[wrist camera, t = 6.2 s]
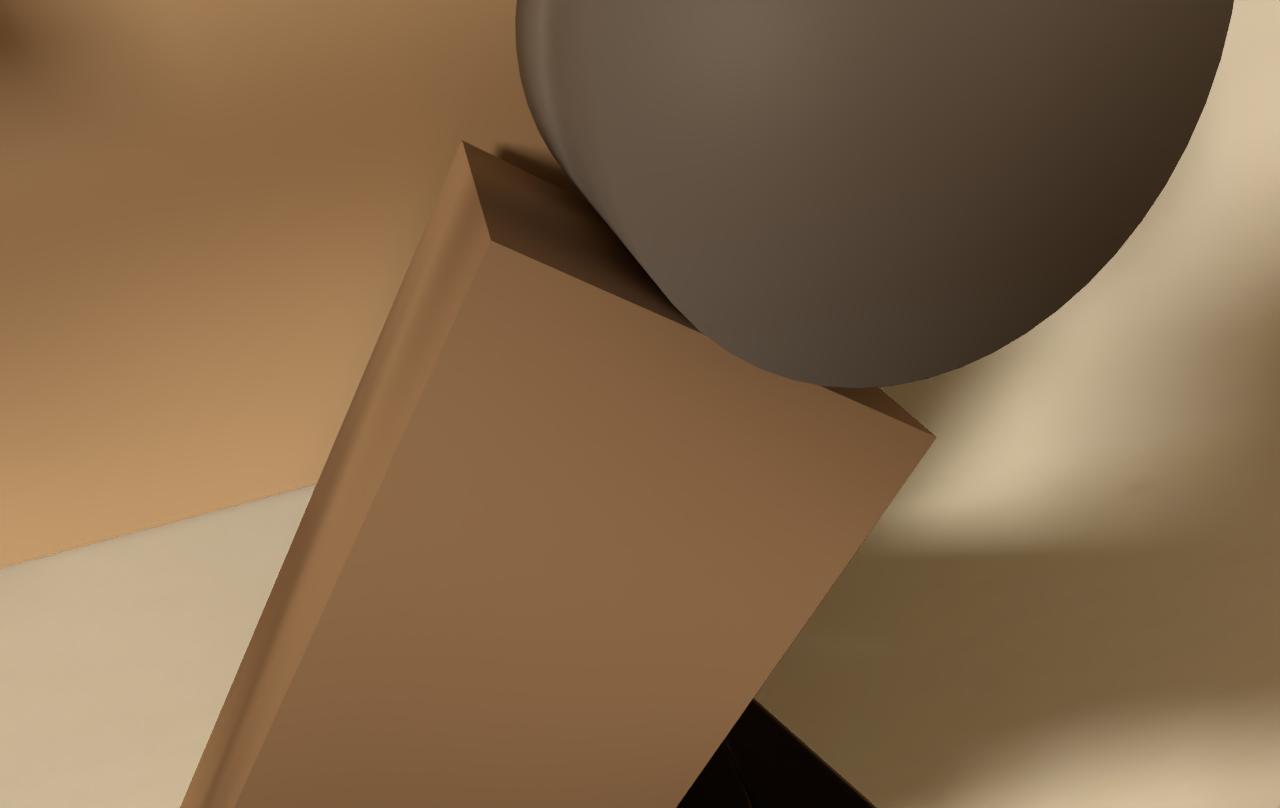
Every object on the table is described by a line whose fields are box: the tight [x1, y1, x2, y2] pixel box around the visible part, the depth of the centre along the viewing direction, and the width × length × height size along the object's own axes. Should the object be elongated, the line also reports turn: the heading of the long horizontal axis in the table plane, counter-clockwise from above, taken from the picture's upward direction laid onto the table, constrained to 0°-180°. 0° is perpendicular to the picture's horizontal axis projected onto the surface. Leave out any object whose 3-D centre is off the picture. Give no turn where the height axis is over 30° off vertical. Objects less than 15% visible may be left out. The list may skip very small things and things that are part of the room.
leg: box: [180, 0, 1234, 808], centre depth 6 cm, size 13×3×3 cm, turn 152°
